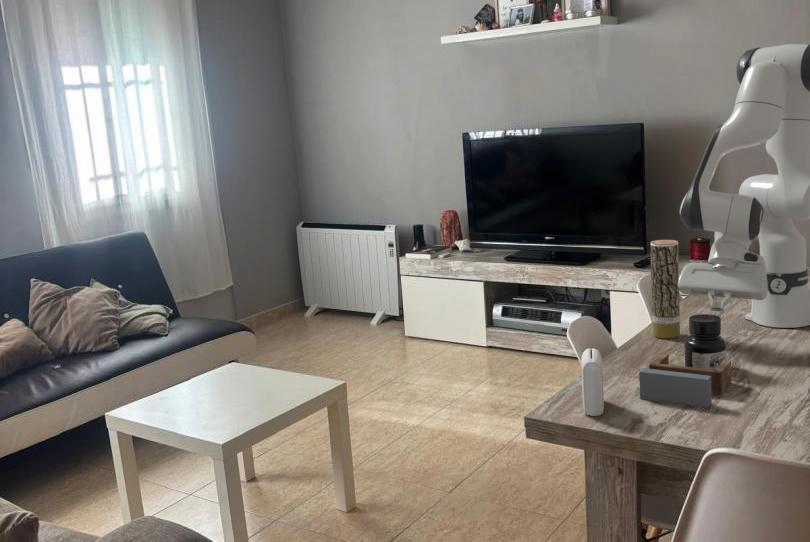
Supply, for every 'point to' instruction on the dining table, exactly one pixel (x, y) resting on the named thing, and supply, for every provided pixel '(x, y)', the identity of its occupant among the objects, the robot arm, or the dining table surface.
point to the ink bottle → (704, 342)
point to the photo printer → (592, 382)
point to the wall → (675, 387)
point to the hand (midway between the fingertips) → (716, 310)
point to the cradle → (699, 372)
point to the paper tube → (665, 288)
